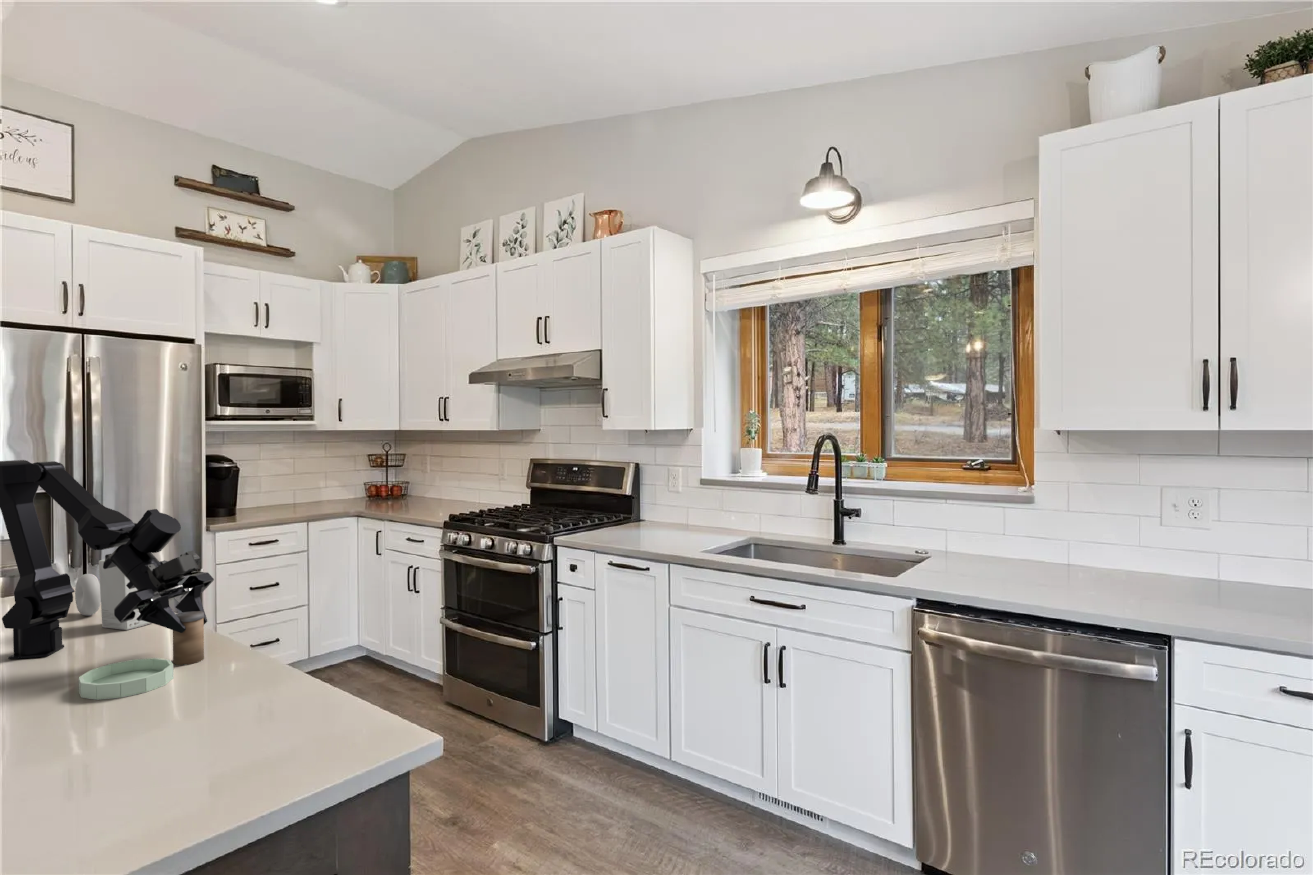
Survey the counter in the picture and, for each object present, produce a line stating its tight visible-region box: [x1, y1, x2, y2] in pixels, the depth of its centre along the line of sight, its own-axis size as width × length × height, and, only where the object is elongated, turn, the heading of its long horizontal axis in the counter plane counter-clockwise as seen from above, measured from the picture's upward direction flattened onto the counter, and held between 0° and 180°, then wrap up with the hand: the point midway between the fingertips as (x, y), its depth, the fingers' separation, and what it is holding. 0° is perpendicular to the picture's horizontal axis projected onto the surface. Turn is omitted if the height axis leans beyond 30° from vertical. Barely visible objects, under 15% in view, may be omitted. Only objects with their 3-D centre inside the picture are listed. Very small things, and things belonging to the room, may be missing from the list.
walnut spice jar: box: [172, 611, 205, 666], centre depth 136 cm, size 5×5×9 cm
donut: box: [74, 573, 101, 617], centre depth 168 cm, size 10×4×10 cm, turn 52°
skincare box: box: [98, 558, 152, 631], centre depth 159 cm, size 8×7×16 cm
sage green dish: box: [78, 657, 174, 701], centre depth 124 cm, size 13×13×2 cm
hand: (194, 627), depth 136 cm, fingers closed on walnut spice jar, 5 cm apart
